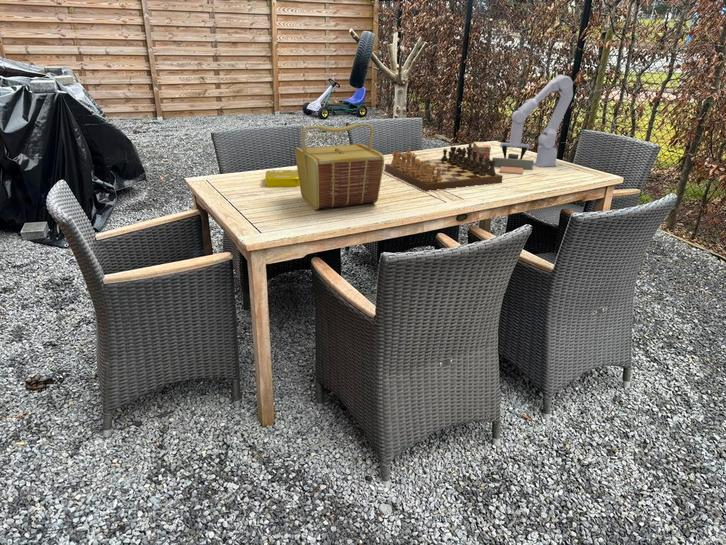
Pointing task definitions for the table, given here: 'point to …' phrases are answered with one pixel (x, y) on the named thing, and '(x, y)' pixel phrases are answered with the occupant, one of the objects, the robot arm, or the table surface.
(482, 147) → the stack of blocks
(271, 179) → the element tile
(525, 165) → the screen
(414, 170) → the chess set
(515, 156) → the letter cube
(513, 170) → the tile
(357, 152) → the picnic basket
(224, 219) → the table surface
